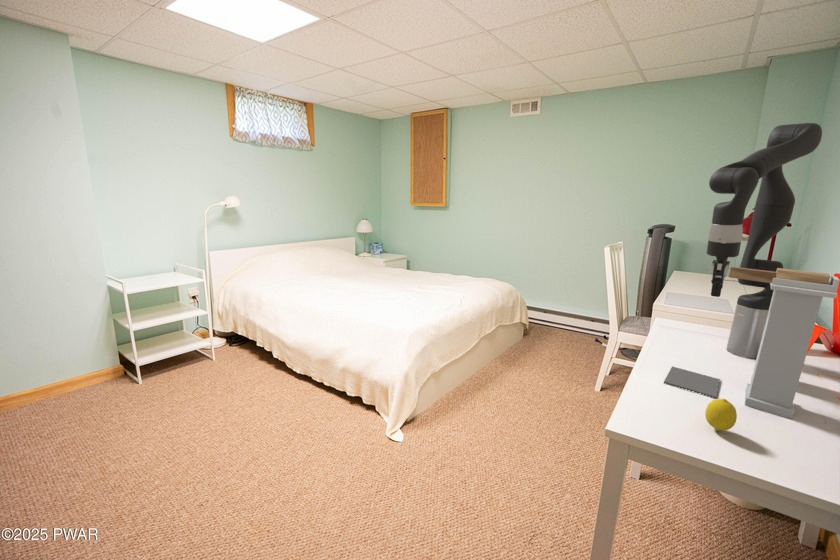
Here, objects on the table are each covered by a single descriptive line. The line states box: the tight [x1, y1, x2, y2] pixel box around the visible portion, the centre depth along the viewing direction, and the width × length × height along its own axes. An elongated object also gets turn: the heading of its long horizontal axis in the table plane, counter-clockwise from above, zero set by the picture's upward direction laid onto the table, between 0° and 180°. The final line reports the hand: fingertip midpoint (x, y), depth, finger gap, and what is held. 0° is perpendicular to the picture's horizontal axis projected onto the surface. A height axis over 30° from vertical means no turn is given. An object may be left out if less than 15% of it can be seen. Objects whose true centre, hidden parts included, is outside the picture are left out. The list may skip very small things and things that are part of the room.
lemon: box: [704, 398, 738, 432], centre depth 87 cm, size 6×6×8 cm
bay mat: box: [663, 366, 721, 400], centre depth 111 cm, size 14×12×1 cm
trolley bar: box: [728, 266, 831, 285], centre depth 95 cm, size 4×18×4 cm, turn 49°
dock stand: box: [744, 275, 840, 420], centre depth 96 cm, size 11×11×35 cm
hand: (716, 292), depth 115 cm, fingers open, 8 cm apart
